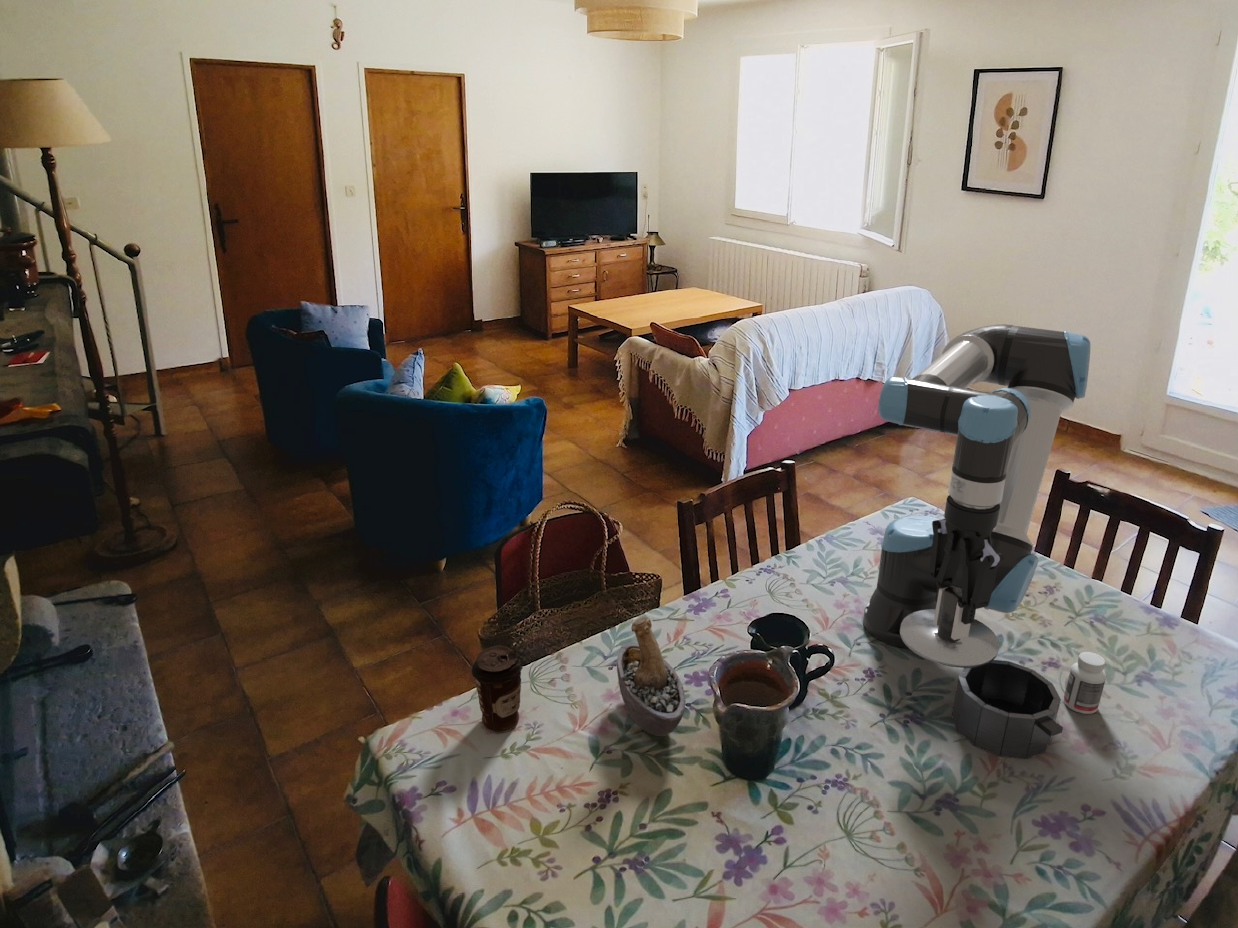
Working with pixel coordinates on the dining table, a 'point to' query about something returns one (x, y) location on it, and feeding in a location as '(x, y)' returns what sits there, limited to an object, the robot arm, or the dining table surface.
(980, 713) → the pot
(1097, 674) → the pill bottle
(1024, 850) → the dining table surface
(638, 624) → the planter
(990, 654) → the lid
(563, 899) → the dining table surface
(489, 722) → the dark brown can
